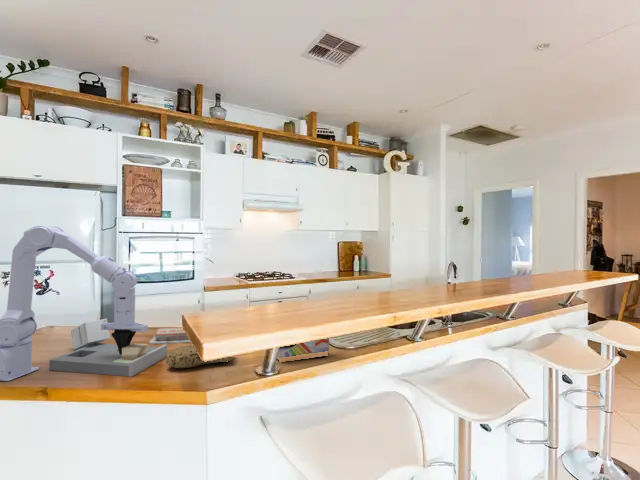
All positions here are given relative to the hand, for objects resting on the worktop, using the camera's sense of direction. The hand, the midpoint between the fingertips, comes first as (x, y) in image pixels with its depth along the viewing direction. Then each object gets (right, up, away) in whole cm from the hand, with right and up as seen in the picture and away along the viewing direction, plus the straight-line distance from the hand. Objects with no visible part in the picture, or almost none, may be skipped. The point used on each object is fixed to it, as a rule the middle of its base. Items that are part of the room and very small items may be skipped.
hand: (123, 353), depth 109 cm
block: (+4, -1, -1) cm, 4 cm away
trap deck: (-5, -4, +3) cm, 7 cm away
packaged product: (+4, -5, +29) cm, 30 cm away
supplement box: (-25, 0, +18) cm, 31 cm away
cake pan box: (+55, -5, +11) cm, 57 cm away
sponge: (+23, -5, +3) cm, 24 cm away
